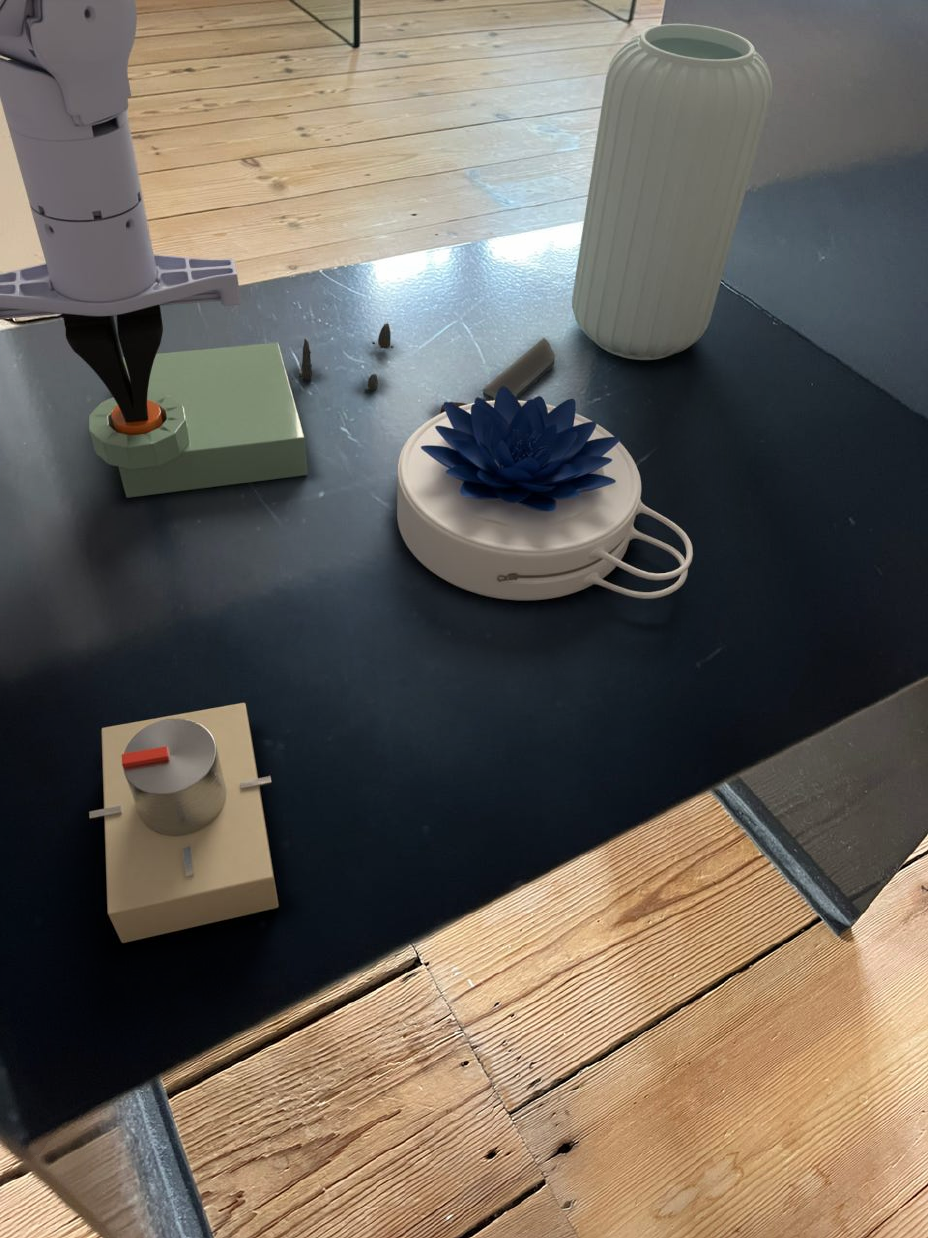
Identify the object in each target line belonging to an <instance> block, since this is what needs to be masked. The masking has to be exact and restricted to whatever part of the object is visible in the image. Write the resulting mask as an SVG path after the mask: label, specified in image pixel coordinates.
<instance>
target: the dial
mask: <svg viewBox="0 0 928 1238" xmlns="http://www.w3.org/2000/svg"><path fill="white" fill-rule="evenodd" d="M122 765H123V770H124V774H125V776H126V779H127V782H128V785H129V787H130V790H131V793H132V796H133V799H134V801H135V804H136V807H137V810H138V812H139V815H140V817H141V819H142V820H143V822H144V823H145V824H146V825H147V826H148V827H149V828H151V829H152V830H154V831H156V832H158V833H161V834H165V835H173V836H174V835H185V834H189V833H193V832H195V831H198V830H200V829H202V828H203V827H205V826H207V825H208V824H209V823H210V822H212V821H213V820H214V819H215V818H216V817H217V815H218V814H219V813H220V811H221V809H222V807H223V805H224V802H225V799H226V787H225V782H224V778H223V773H222V769H221V764H220V760H219V756H218V751H217V747H216V742H215V740H214V738H213V736H212V734H211V733H210V732H209V731H208V730H207V729H206V728H205V727H204V726H202V725H201V724H199V723H197V722H194V721H191V720H187V719H166V720H162V721H159V722H156V723H153V724H151V725H149V726H147V727H145V728H144V729H142V730H141V731H140V732H138V733H137V734H136V735H135V736H134V737H133V738H132V739H131V741H130V742H129V744H128V745H127V747H126V749H125V752H124V754H122Z"/></svg>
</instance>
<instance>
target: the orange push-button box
mask: <svg viewBox="0 0 928 1238" xmlns="http://www.w3.org/2000/svg"><path fill="white" fill-rule="evenodd" d="M122 357H123V360H124V363H125V366H126V362H125V359H124V356H122ZM283 358H284V357H283V355H282V350H281V347H280V344H279V342H268V343H258V344H257V343H256V344H247V345H236V346H235V345H234V346H225V347H215V348H203V349H193V350H181V351H171V352H161V353H156V356H155V359H154V362H153V366H152V370H151V374H150V379H149V386H148V395H147V400H150V401H152V402H154V403H156V404H157V405H158V406H159V407H160V410H161V415H162V419H163V424H162V426H161V427H160V428H157V429H155V430H153V431H151V432H149V433H146V434H138V435H127V434H122V433H118V432H116V431H115V428H114V424H113V420H112V411H113V409H114V408H115V407H116V406H118V404H117V402H116V401H115V399H114V397H113V396H112V397H111V398H108V399H106V400H104V401H102V402H99V404H98V405H97V406H96V407H95V408H94V410H93V411H92V412H91V413H90V414H89V415H88V433H89V436H90V439H91V442H92V446H93V450H94V452H95V454H96V455H97V456H98V457H99V458H100V459H102V460H103V462H105V463H106V464H107V465H110V466H114V467H117V468H118V471H119V475H120V479H121V482H122V487H123V490H124V494H125V497H126V498H128V499H129V498H136V497H144V496H145V497H146V496H152V495H160V494H168V493H175V492H183V491H184V492H185V491H192V490H200V489H207V488H215V487H216V488H217V487H223V486H231V485H240V484H248V483H256V482H262V481H272V480H277V479H278V480H280V479H287V478H295V477H302V476H308V462H307V452H306V438H305V434H304V430H303V427H302V424H301V423H302V422H301V419H300V415H299V413H298V408H297V405H296V402H295V398H294V394H293V390H292V387H291V383H290V379H289V375H288V373H287V369H286V364H285V362H284V359H283ZM126 370H127V366H126ZM127 373H128V370H127ZM128 376H129V374H128ZM129 379H130V378H129Z"/></svg>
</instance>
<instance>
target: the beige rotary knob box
mask: <svg viewBox="0 0 928 1238" xmlns="http://www.w3.org/2000/svg"><path fill="white" fill-rule="evenodd" d="M166 719H187V720H191V721H194V722H197V723H199V724H201V725H202V726H204V727H205V728H206V729H207V730H208V731H209V732H210V733H211V734H212V736H213V738H214V740H215V742H216V747H217V751H218V756H219V760H220V764H221V769H222V773H223V778H224V782H225V787H226V799H225V802H224V805H223V807H222V809H221V811H220V813H219V814H218V815H217V817H216V818H215V819H214V820H213V821H212V822H210V823H209V824H208V825H207V826H205V827H203V828H202V829H200V830H198V831H195V832H193V833H189V834H185V835H174V836H173V835H165V834H161V833H158V832H156V831H154V830H152V829H151V828H149V827H148V826H147V825H146V824H145V823H144V822H143V820H142V819H141V817H140V815H139V812H138V810H137V807H136V804H135V801H134V799H133V796H132V793H131V790H130V787H129V785H128V782H127V779H126V776H125V774H124V770H123V765H122V754H124V752H125V749H126V747H127V745H128V744H129V742H130V741H131V739H132V738H133V737H134V736H135V735H136V734H137V733H138V732H140V731H141V730H142V729H144V728H145V727H147V726H149V725H151V724H153V723H156V722H159V721H162V720H166ZM249 720H250V719H249V715H248V709H247V705H246V702H240V703H235V704H229V705H224V706H217V707H213V708H207V709H202V710H195V711H190V712H184V713H178V714H173V715H167V716H162V717H157V718H150V719H145V720H140V721H134V722H128V723H123V724H117V725H112V726H106V727H102V728H101V758H102V759H101V760H102V784H103V786H102V788H103V789H102V790H103V808H100V809H95V810H91V811H88V815H89V816H88V817H89V820H96V819H97V820H98V819H101V818H104V821H103V822H104V845H105V846H104V849H105V851H104V852H105V874H106V875H105V876H106V877H105V878H106V879H105V880H106V904H107V905H106V906H107V909H106V910H107V915H108V917H109V919H110V921H111V923H112V926H113V927H114V930H115V932H116V935H117V936H118V938H119V940H120V942H121V943H122V944H125V943H129V942H134V941H138V940H143V939H147V938H151V937H156V936H160V935H165V934H169V933H175V932H179V931H183V930H187V929H192V928H196V927H201V926H203V925H208V924H214V923H217V922H221V921H222V922H223V921H226V920H230V919H234V918H240V917H243V916H248V915H252V914H257V913H262V912H266V911H269V910H275V909H277V908H279V906H280V905H279V900H278V893H277V886H276V882H275V876H274V868H273V863H272V857H271V848H270V843H269V836H268V831H267V826H266V825H267V824H266V818H265V813H264V807H263V806H264V805H263V799H262V794H261V789H260V788H261V787H262V786H268V785H272V777H271V775H268V776H263V777H259V774H258V769H257V763H256V756H255V750H254V745H253V743H254V742H253V737H252V732H251V726H250V721H249Z"/></svg>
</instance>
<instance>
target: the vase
mask: <svg viewBox="0 0 928 1238" xmlns="http://www.w3.org/2000/svg"><path fill="white" fill-rule="evenodd" d="M772 95H773V82H772V75H771V72H770V69H769V67H768V65H767V63H766V61H765V59H764V58H763V57H762V56H761V55H760V53H759V52H758V51H756V50H755V46H754V45H753V44H752V42H750V41H749V40H748V39H747V38H745V37H743V36H741V35H739V34H736V33H735V32H731V31H728V30H726V29H721V28H718V27H713V26H708V25H699V24H691V23H665V24H659V25H654V26H650V27H648V28H646V29H644V30H643V31H642V32H641V33H640V34H639V35H636V36H634V37H632V38H631V39H630V40H629V41H627V42H626V43H624V44H623V45H622V46H621V47H620V49H619V50H618V51H617V52H616V53H615V54H614V56H613V57H612V59H611V61H610V63H609V66H608V68H607V73H606V77H605V83H604V89H603V95H602V101H601V108H600V115H599V121H598V122H599V123H598V128H597V135H596V141H595V146H594V154H593V160H592V168H591V174H590V180H589V187H588V193H587V198H586V205H585V213H584V219H583V224H582V232H581V238H580V245H579V252H578V258H577V263H576V270H575V279H574V283H573V289H572V296H571V309H572V312H573V315H574V318H575V321H576V323H577V325H578V326H579V328H580V329H581V330H582V331H583V333H584V335H586V336H587V337H588V338H589V340H591V341H593V342H594V343H595V344H596V345H597V346H598V347H600V348H601V349H603V350H605V351H606V352H608V353H610V354H613V355H616V356H619V357H622V358H624V359H625V358H626V359H630V360H638V361H653V360H660V359H664V358H666V357H670V356H672V355H675V354H678V353H680V352H683V351H685V350H687V349H688V348H690V347H691V346H692V345H694V344H696V343H697V342H698V341H699V340H700V339H701V337H702V336H703V335H704V334H705V332H706V330H707V329H708V327H709V324H710V322H711V319H712V316H713V311H714V308H715V304H716V300H717V297H718V294H719V290H720V286H721V283H722V279H723V275H724V272H725V268H726V265H727V261H728V258H729V253H730V249H731V246H732V242H733V238H734V236H735V231H736V229H737V225H738V220H739V217H740V213H741V210H742V206H743V202H744V198H745V195H746V191H747V188H748V184H749V182H750V177H751V174H752V170H753V167H754V166H753V165H754V162H755V158H756V155H757V151H758V149H759V144H760V141H761V138H762V137H761V136H762V133H763V129H764V126H765V123H766V119H767V115H768V112H769V108H770V104H771V100H772Z"/></svg>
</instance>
